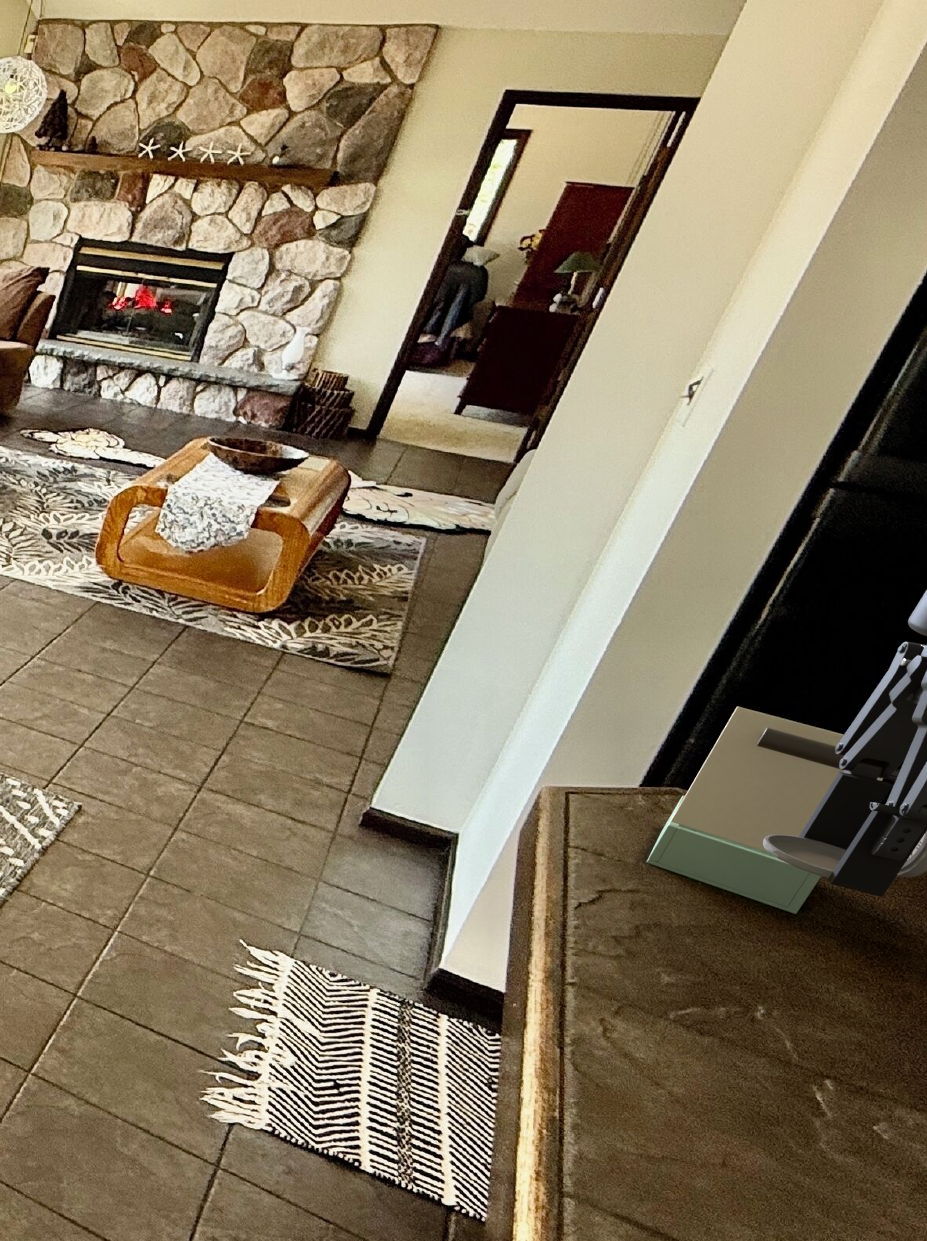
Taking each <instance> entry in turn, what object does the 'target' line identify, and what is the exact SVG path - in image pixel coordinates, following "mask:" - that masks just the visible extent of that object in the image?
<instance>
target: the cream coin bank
mask: <svg viewBox="0 0 927 1241" xmlns="http://www.w3.org/2000/svg"><path fill="white" fill-rule="evenodd" d="M843 736H844V734H842V733H839V732H835V731H832V730H828V729H824V728H820V727H816V726H812V725H809V724H804V723H802V722H797V721H793V720H790V719H786V718H782V717H780V716H775V715H771V714H768V713H764V712H760V711H756V710H752V709H748V708H745V707H741V706H736V708H735V709H734V711H733V712H732V714H731V716H730V718H729V719H728V721H727V723H726V725H725V727H724V728H723V730H722V731H721V733H720V735H719V737H718V738H717V740H716V742H715V744H714V745H713V747H712V749H711V751H710V752H709V753H708V755H707V757H706V759H705V761H704V762H703V764H702V766H701V768H700V770H699V771H698V773H697V775H696V777H695V778H694V780H693V782H692V783H691V785H690V787H689V789H688V790H687V792H686V794H685V795H684V796H685V797H684V799H683V801H682V802H681V804H680V806H679V807H678V809H677V811H676V813H675V814H674V816H673V818H672V819H671V821H672V822H674V823H677V824H680V825H683V826H686V827H690V828H693V829H696V830H699V831H702V832H705V833H708V834H711V835H714V836H717V837H720V838H723V839H727V840H730V841H733V842H736V843H739V844H742V845H745V846H748V847H751V848H754V849H757V850H760V851H764V852H767V853H769V852H768V851H767V850H766V849H765V848H764V846H763V840H764V838H765V837H766V836H768V835H773V834H783V835H791V836H797V837H799V835H800V834H801V832H802V831H803V829H804V827H805V826H806V824H807V823H808V821H809V819H810V818H811V816H812V815H813V813H814V811H815V810H816V808H817V807H818V805H819V803H820V802H821V800H822V799H823V797H824V795H825V794H826V792H827V791H828V789H829V787H830V786H831V784H832V783H833V781H834V779H835V778H836V776H837V775H838V773H839V772H844V770H843V769H840V768H839V763H840V760H841V759H842V757H844V756H843V755H838V754H836V752H835V748H836V746H837V744H838V743H839V742H840V740H841V739H842V737H843ZM877 780H880V781H884V779H883V778H879V777H878V778H877ZM770 854H771V853H770Z"/></svg>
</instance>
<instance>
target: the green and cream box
mask: <svg viewBox="0 0 927 1241" xmlns="http://www.w3.org/2000/svg"><path fill="white" fill-rule="evenodd" d="M684 797H685V795H682V796H681V798H680V799H679V801H678V803H677V804H676V806H675V808H674V809H673V811H672V813H671V814H670V816H669V818H668V819H667V821H666V823H665V824H664V827H663V828H662V830H661V832H660V833H659V836H658V838H657V839H656V842H655V843H654V846H653V848H652V850H651V852H650V854H649V856H648V858H647V860H646V863H647V864H650V865H653V866H656V867H659V868H661V869H664V870H667V871H670V872H673V873H676V874H679V875H682V876H685V877H688V878H691V879H693V880H696V881H699V882H701V883H705V884H707V885H711V886H713V887H716V888H719V889H722V890H726V891H728V892H731V893H734V894H737V895H740V896H743V897H745V898H749V899H751V900H754V901H757V902H760V903H762V904H765V905H769V906H771V907H774V908H776V909H777V908H778V909H780V910H783V911H785V912H789V913H792V914H795V915H796V914H797V913H798V912H799V910H800V909H801V907H802V906H803V904H804V903H805V902H806V900H807V899H808V897H809V895H810V894H811V892H812V891H813V889H814V888H815V886H816V885H817V883H818V882H819V880H820V879H821V877H822V876H819V875H816V874H813V873H810V872H808V871H805V870H802V869H799V868H796V867H794V866H792V865H790V864H788V863H786V862H784V861H782V860H780V859H778V858H776V857H775V856H774V855H772V854H770V853H767V852H764V851H760V850H757V849H754V848H751V847H748V846H745V845H742V844H739V843H736V842H733V841H730V840H727V839H723V838H720V837H717V836H714V835H711V834H708V833H705V832H702V831H699V830H696V829H693V828H690V827H686V826H683V825H680V824H677V823H674V822H672V821H671V819H672V818H673V816H674V814H675V813H676V811H677V809H678V807H679V806H680V804H681V802H682V801H683V799H684Z"/></svg>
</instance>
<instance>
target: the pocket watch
mask: <svg viewBox="0 0 927 1241" xmlns="http://www.w3.org/2000/svg"><path fill="white" fill-rule="evenodd" d="M763 846H764V848H765V849H766V850H767V851H768V852H769V853H771V854H772V855H774V856H775V857H776V858H778V859H780V860H782V861H784V862H786V863H788V864H790V865H792V866H794V867H796V868H799V869H802V870H805V871H808V872H810V873H813V874H816V875H819V876H821V877H822V878H826V879H828V878H829V877H830V875H831V874H832V872H833V871H834V869H835V868H836V866H837V865H838V863H839V861H840V860H841V858H842V857H843V855H844V854H845V852H846V851H847V850H845V849H842V848H839V847H836V846H833V845H830V844H826V843H823V842H819V841H815V840H811V839H807V838H803V837H797V836H791V835H783V834H773V835H768V836H766V837H765V838H764V840H763ZM926 872H927V831H926V833H925V834H924V836H923V837H922V839H921V840H920V842H919V843H918V845H917V846H916V848H915V849H914V851H913V852H912V854H911V855H910V857H909V858H908V859H907V861H906V862H905V864H904V865H903V867H902V868H901V870H900V871H899V873H898V874H897V876H896V877H897V878H914V877H919V876H921V875H923V874H924V873H926Z"/></svg>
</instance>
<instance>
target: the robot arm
mask: <svg viewBox="0 0 927 1241" xmlns="http://www.w3.org/2000/svg"><path fill="white" fill-rule="evenodd" d="M907 624H908V626H909V628H910V629H911V630H913V631H915V632H916V633H918V634H920V635H922V636H925V637H927V589H926V590H925V591H924V593H923V595H922V596H921V598H920V600H919V601H918V603H917V605H916V606H915V608H914V610H913V611H912V613H911V614H910V616H909V618H908V620H907ZM887 670H888V671H887V672H886V673H885V675H884V676H883V678H882V679H881V680H880V682H879V683H878V684H877V686H876V688H875V689H874V690H873V692H872V693H871V694H870V697H869V698H868V699H867V701H866V702H865V704H864V705H863V707H861V709H860V711H859V712H858V714H857V715H856V717H855V718H854V720H853V721H852V722H851V725H850V726H849V727H848V729H846V731H845V732H844V734H843V735H844V736H843V737H842V739H841V740H840V742H839V743H838V744H837V746H836V748H835V752H836V754H838V755H843V756H844V757H842V759H841V760H840V763H839V768H840V769H843V770H844V772H839V773H838V775H837V776H836V778H835V779H834V781H833V783H832V784H831V786H830V787H829V789H828V791H827V792H826V794H825V795H824V797H823V799H822V800H821V802H820V803H819V805H818V807H817V808H816V810H815V811H814V813H813V815H812V816H811V818H810V819H809V821H808V823H807V824H806V826H805V827H804V829H803V831H802V832H801V834H800V835H799V837H803V838H807V839H811V840H815V841H819V842H823V843H826V844H830V845H833V846H836V847H839V848H842V849H845V850H847V851H846V852H845V854H844V855H843V857H842V858H841V860H840V861H839V863H838V865H837V866H836V868H835V869H834V871H833V872H832V874H831V875H830V877H829V878H827V881H828V883H829V884H830V885H833V886H837V887H840V888H845V889H848V890H853V891H856V892H860V893H864V894H868V895H872V896H876V897H880V898H883V897H884V895H885V894H886V892H887V890H888V889H889V888H890V887H891V885H892V883H893V882H894V880H895V879H896V878H897V877H898V876H897V874H898V873H899V871H900V870H901V868H902V867H903V865H904V864H905V862H906V861H907V859H908V858H909V857H910V855H911V854H912V852H913V851H914V849H915V848H916V846H917V845H918V843H919V842H920V840H921V839H922V837H923V836H924V834H925V833H926V831H927V644H921V643H916V642H910V641H904V642H902V643H901V645H900V646H899V647H898V648H897V652H896V654H895V656H894V658H893V659H892V662H891V664H890V666H889V668H888V669H887ZM900 766H901V768H900V769H898V768H899V767H900ZM878 777H879V778H883V780H882V781H880V780H877V778H878ZM885 780H888V781H889V782H888V781H885ZM890 781H893V782H894V784H893V785H892V784H891V783H890ZM890 790H891V791H890ZM889 792H890V793H889ZM888 793H889V796H888V798H887V801H886V803H885V804H884V803H883V801H884V800H885V798H886V797H887V795H888Z"/></svg>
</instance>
